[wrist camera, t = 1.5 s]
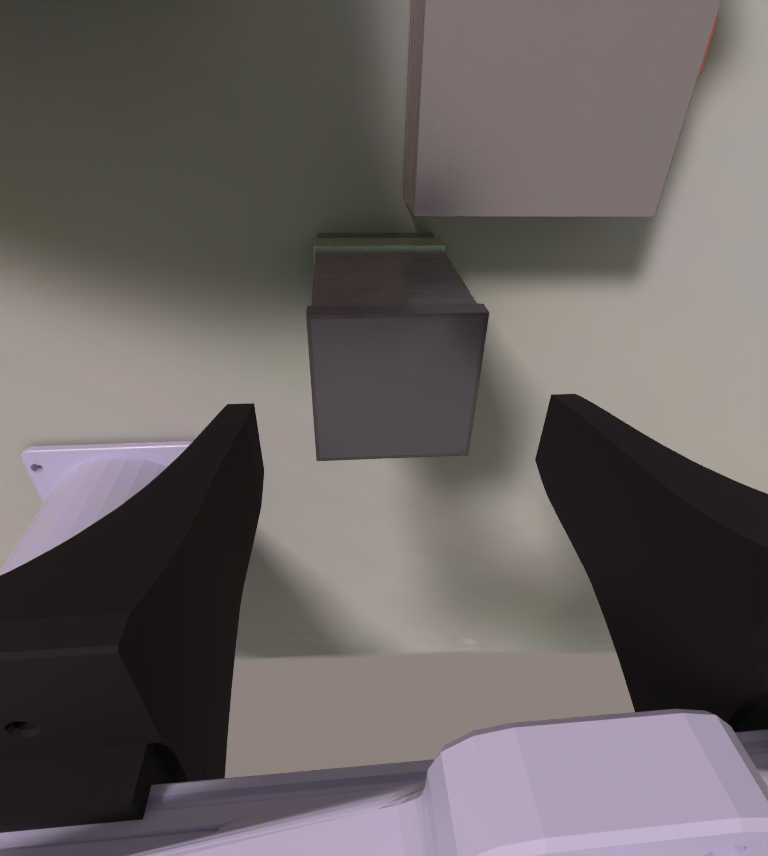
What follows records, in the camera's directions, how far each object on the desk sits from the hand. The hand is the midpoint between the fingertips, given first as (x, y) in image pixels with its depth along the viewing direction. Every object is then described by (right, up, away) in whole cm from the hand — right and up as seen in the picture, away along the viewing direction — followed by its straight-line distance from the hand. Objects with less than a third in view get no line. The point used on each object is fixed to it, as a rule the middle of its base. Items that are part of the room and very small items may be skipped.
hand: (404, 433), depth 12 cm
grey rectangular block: (-1, +6, +8) cm, 10 cm away
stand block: (+4, +12, +4) cm, 14 cm away
